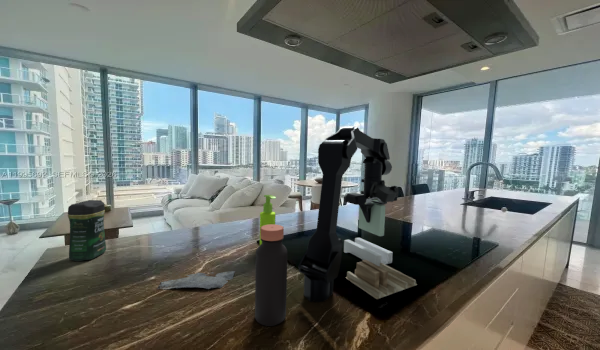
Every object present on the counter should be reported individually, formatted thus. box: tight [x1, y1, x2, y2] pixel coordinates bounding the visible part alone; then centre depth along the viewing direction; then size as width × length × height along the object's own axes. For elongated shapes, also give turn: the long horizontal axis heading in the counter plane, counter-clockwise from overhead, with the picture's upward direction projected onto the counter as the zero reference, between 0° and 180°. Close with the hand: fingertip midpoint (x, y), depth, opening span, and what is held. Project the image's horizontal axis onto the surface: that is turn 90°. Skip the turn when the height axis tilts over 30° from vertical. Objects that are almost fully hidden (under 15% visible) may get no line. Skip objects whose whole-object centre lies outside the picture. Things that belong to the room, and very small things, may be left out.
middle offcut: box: [361, 259, 388, 288], centre depth 68 cm, size 2×8×5 cm, turn 29°
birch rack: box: [345, 263, 418, 300], centre depth 69 cm, size 16×12×2 cm
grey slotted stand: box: [343, 237, 394, 267], centre depth 87 cm, size 7×16×4 cm, turn 29°
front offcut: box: [355, 261, 380, 290], centre depth 67 cm, size 2×7×5 cm, turn 29°
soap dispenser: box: [259, 194, 277, 246], centre depth 95 cm, size 6×7×20 cm
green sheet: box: [358, 202, 387, 237], centre depth 85 cm, size 2×10×10 cm, turn 28°
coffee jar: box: [67, 199, 107, 262], centre depth 82 cm, size 10×8×19 cm
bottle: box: [254, 223, 288, 327], centre depth 54 cm, size 7×7×20 cm
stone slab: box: [156, 270, 236, 290], centre depth 69 cm, size 18×2×10 cm
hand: (370, 222), depth 85 cm, fingers closed on green sheet, 2 cm apart
